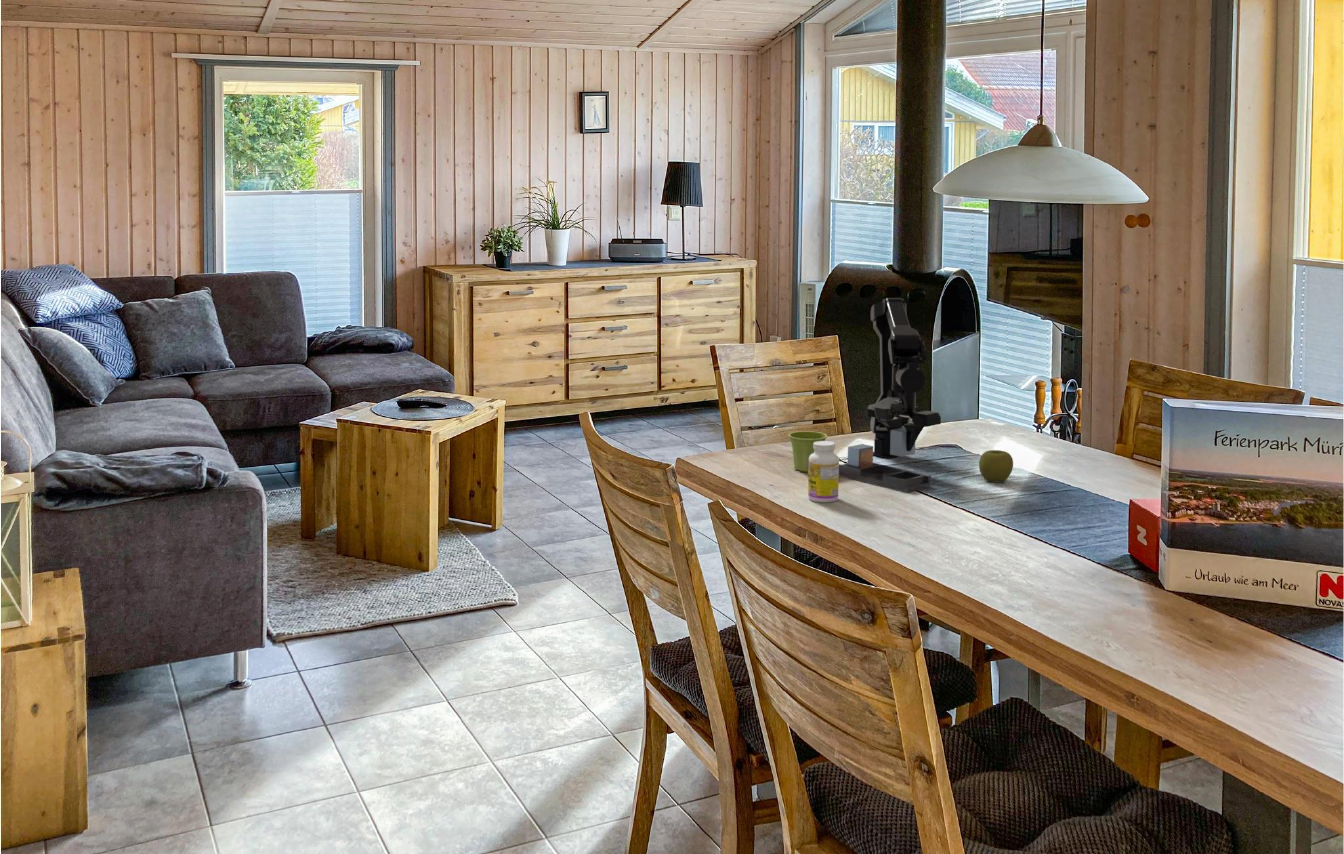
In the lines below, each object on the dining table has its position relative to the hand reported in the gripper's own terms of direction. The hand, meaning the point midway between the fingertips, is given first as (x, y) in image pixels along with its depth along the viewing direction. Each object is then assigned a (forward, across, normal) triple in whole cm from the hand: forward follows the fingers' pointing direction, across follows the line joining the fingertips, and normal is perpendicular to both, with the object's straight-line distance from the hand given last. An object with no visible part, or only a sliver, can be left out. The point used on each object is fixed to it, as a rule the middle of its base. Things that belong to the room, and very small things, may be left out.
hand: (902, 449), depth 289 cm
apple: (+6, +20, +10) cm, 23 cm away
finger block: (+1, 0, 0) cm, 1 cm away
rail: (+6, +3, -10) cm, 12 cm away
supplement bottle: (+6, +6, -33) cm, 34 cm away
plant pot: (+6, -17, -15) cm, 23 cm away
